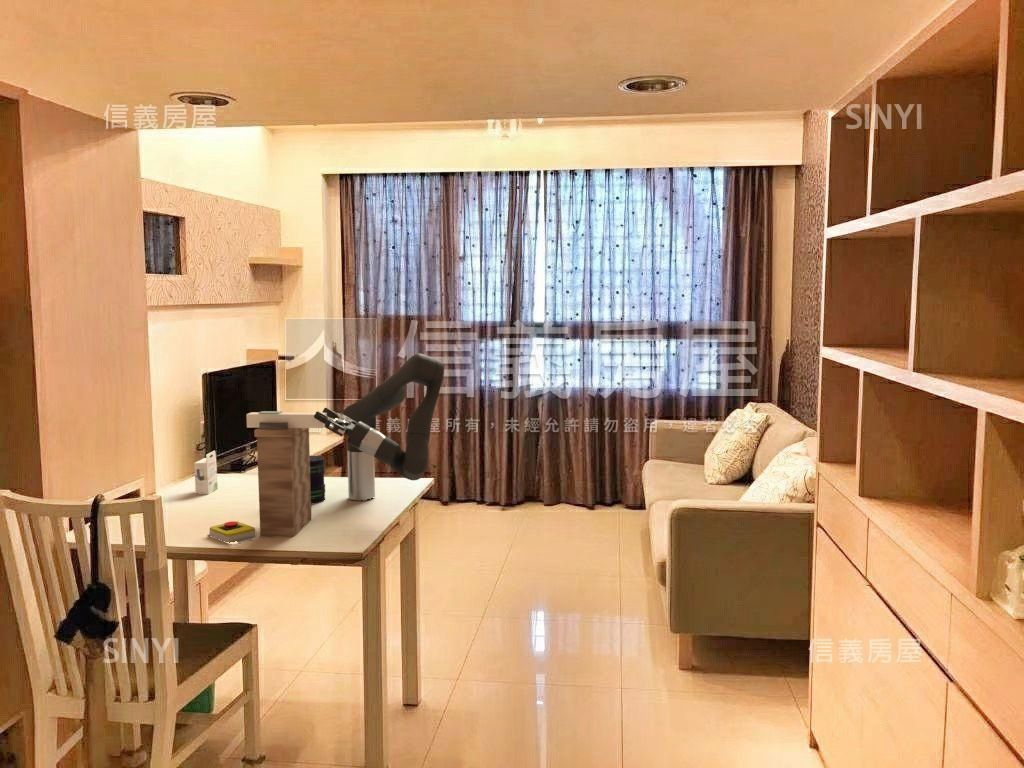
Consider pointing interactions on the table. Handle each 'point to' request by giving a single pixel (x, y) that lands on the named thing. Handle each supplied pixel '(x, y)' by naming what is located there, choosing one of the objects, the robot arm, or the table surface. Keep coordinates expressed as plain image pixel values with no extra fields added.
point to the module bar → (284, 419)
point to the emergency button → (233, 532)
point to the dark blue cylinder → (317, 479)
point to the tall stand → (283, 478)
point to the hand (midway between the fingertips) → (319, 412)
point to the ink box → (206, 474)
